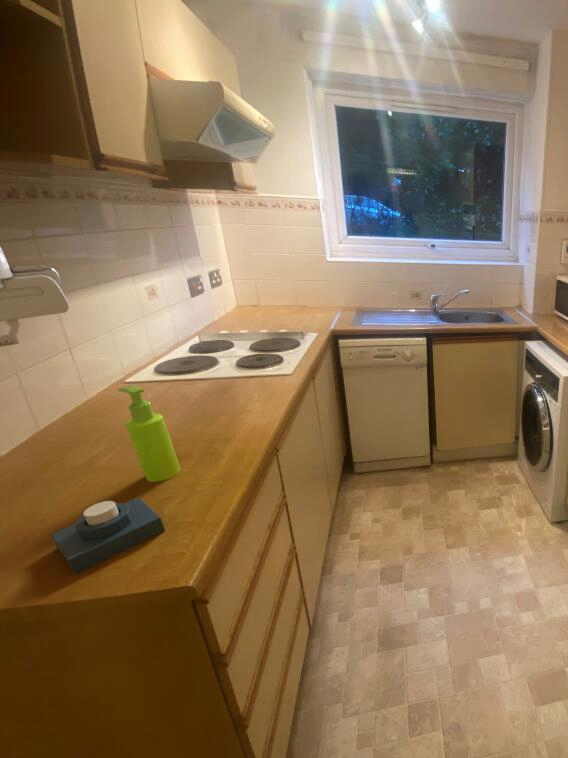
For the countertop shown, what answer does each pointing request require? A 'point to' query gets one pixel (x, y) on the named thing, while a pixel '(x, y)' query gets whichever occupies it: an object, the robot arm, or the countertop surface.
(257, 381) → the countertop surface
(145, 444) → the soap dispenser
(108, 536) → the button housing
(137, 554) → the countertop surface
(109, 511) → the button
